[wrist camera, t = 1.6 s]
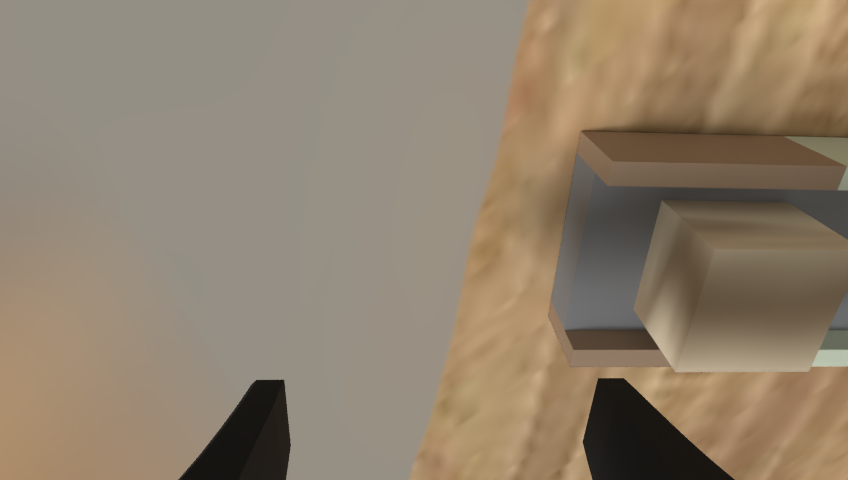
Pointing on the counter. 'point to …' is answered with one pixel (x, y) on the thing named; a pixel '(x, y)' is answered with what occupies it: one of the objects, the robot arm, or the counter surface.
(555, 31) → the counter surface
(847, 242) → the maple block
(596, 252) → the board
